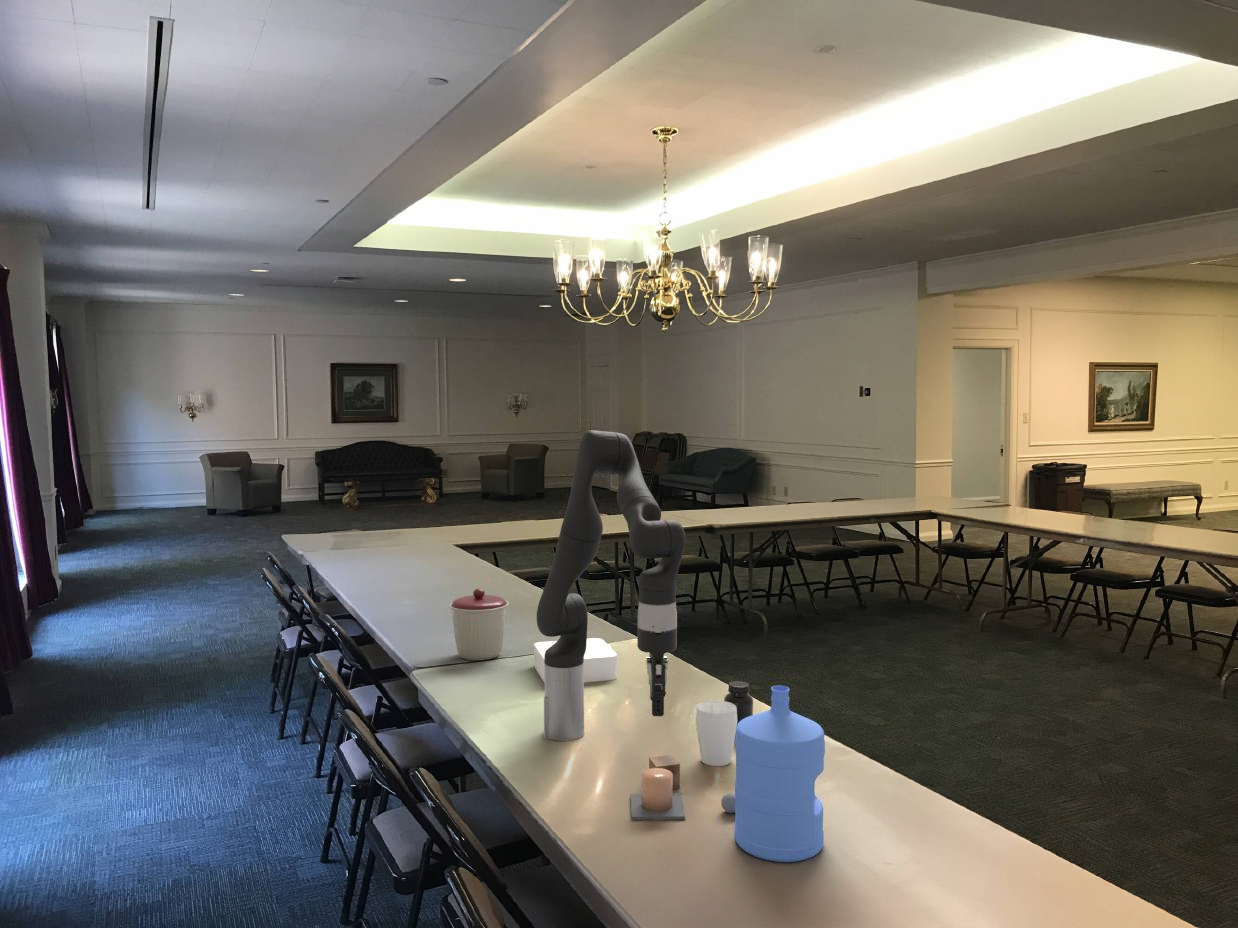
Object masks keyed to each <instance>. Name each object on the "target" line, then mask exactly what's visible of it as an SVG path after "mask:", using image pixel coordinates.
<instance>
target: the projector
mask: <svg viewBox="0 0 1238 928" xmlns="http://www.w3.org/2000/svg"><path fill="white" fill-rule="evenodd" d="M557 641H558V640H550V641H549V640H547V641H537V642H534V644H533V654H534V655H533V658H534V660H533V662H534V663H533V664H534V665H533V667H534V668H535V670H536V672H537V673H538V675H539V677H540V679H541V680H542V682H543V683H544V684H545V663H544V655H545V652H546V650H547V649H548V648H550V647H551V646H552V645H554V644H555V643H556V642H557ZM617 678H618V654H617V653H616V651H615V650H614V649H613V648H612V647H611V644H609V643H607V642H606V641H605V640H604V639H603V638H600V637H599V638H597V637H592V638H591V637H590V638H588V637H587V644H586V652H585V654H584V683H591V682H593V683H594V682H603V681H614V680H616V679H617Z"/></svg>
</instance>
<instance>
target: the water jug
mask: <svg viewBox="0 0 1238 928" xmlns="http://www.w3.org/2000/svg"><path fill="white" fill-rule="evenodd" d="M770 690H771V697H770V701H771V707H770V709H768V710H765V711H762V712H758V713H754V714H753V715H752V716H749V717H746V718H744V719H742V720H741V721H740V722H739V723H738V725H737V727H736V737H735V740H734V747H735V748H734V749H735V779H734V794H735V796H736V812H735V819H734V821H735V823H734V839H735V841H736V843H737V844H738V846H739V848H741V849H742V850H743V851H744V852H746V853H748V854H750V855H751V856H753V857H755V858H758V859H762V860H765V861H770V862H777V863H795V862H800V861H801V862H802V861H805V860H807V859H810V858H812V857H814V856H816V855H817V854H818V853H819V852H820V851H821V850H822V848H823V846H824V834H825V833H824V832H825V831H824V807H823V803H822V801H821V799H820V798H818V797H817V796H816V794H815V793H816V792H815V791H816V790H815V784H816V780H817V778H818V777H819V776H820V775H821V774H823V772H824V769H825V755H826V742H825V741H826V740H825V731H824V729H823V728H822V726H821V725H820V724H818V722H816V721H814V720H812V719H811V718H807V717H805V716H802V715H801V714H799V713H796V712H793V711H791V710H790V705H789V704H790V697H789V692H790V688H789V687H788V686H786V685H773V686H771V688H770Z"/></svg>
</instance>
